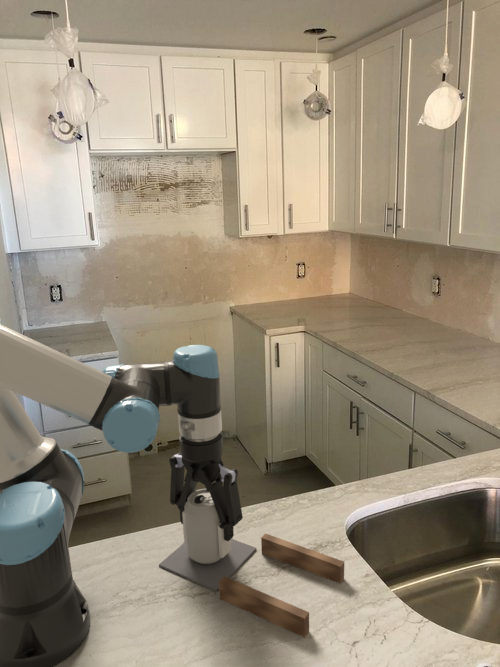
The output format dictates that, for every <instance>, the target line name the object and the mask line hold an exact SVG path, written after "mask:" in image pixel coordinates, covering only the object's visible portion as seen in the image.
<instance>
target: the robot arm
mask: <svg viewBox="0 0 500 667" xmlns="http://www.w3.org/2000/svg"><path fill="white" fill-rule="evenodd" d="M218 358H219V357H218V353H217V351H216V350H215V349H214V348H213V347H211V346H209V345H206V344H190V345H185V346H181V347H178V348H177V349H176V350H174V351H173V357H172V360H168V361H156V362H153V361H152V362H141V363H140V362H138V363H124V362H123V363H121V364H115V365H114V364H113V365H109V366H106V367H105V368H103V370H102V371H101V370H98V369H96V368H94V367H92V366H90V365H89V364H86V363H84V362H82V361H79V360H77V359H75V358H73V357H71V356H69V355H67V354H65V353H63V352H61V351H58V350H56V349H54V348H52V347H50V346H47V345H46V344H44V343H41V342H39V341H37V340H35V339H33V338H30V337H29V336H26V335H24V334H22V333H20V332H17V331H16V330H14V329H11V328H10V327H7V326H5V325H3V324H2V323H1V324H0V667H54V666H55V665H57V664H59V663H61V662H63V661H64V660H66V659H67V658H69V656H71V655H72V654H73V653H74V652H75V651H76V650H77V649H78V648H79V647H80V646H81V645H82V643H83V642H84V641H85V638H86V637H87V635H88V633H89V631H90V630H89V629H90V626H91V616H90V610H89V605H88V601H87V600H86V599H85V596H84V595H83V593H82V592H81V590H80V588H79V587H78V585H77V584H76V582H75V580H74V578H73V572H72V565H71V557H70V550H69V541H70V540H69V539H70V535H71V531H72V529H73V525H74V522H75V519H76V515H77V512H78V509H79V506H80V503H81V500H82V497H83V495H84V491H85V473H84V469H83V466H82V464H81V463H80V461H79V459H78V458H77V457H76V456H75V455H74V453H72V452H71V451H69V450H67V449H62V448H60V447H59V445H58V443H57V441H56V440H55V439H54V438H52V437H47V436H42V435H41V434H40V432H39V431H38V429H37V427H36V426H35V423H33V421H32V420H31V417H30V415H29V414H28V413H27V411H26V410H25V408H24V407H23V404H22V403H21V402H20V400H19V399H18V397H17V395H16V394H18V395H21V396H22V397H25V398H27V399H29V400H32V401H34V402H37V403H39V404H40V405H44V406H46V407H48V408H50V409H53V410H54V411H57V412H58V413H59V412H60V413H62V414H64V415H65V416H68V417H71V418H73V419H75V420H77V421H80V422H81V423H84V424H86V425H89V426H91V427H93V428H95V429H97V430H99V431H102V434H103V437H104V439H105V440H106V443H108V445H109V446H110V447H111V448H112V449H114V450H115V451H117V452H120V453H125V454H126V453H127V454H133V453H138V452H141V451H143V450H145V449H146V448H148V447H149V446H150V445H151V444H152V443H153V441H154V440H155V438H156V436H157V432H158V428H159V423H160V421H161V414H160V407H168V406H177V407H176V409H177V421H178V432H179V438H178V439H179V451H180V452H177V453H176V454H174V455H173V456H170V457H169V459H168V460H169V465H170V469H171V471H170V475H171V476H170V490H169V491H170V493H169V502H170V504H171V505H173V506H175V505H176V506H177V508H178V511H179V518H180V524H182V527H183V528H182V529H183V530H182V531H183V540H184V542H183V543H187V536H186V522H185V508H184V506H185V503H186V502H187V501H188V500H187V499H188V496H189V495H190V494H191V493H193V492H194V491H196V488H197V485H198V483H201V484H202V485H204V487H205V489H206V490H207V491H209V492H210V495H211V497H212V500H213V503H214V505H215V508H216V511H217V513H218V516H219V519H220V521H221V523H220V524H218V541H219V557H221V558H223V557H224V556H225V555H226V554H227V553H229V552H230V551H231V539H234V535H235V534H234V527H235V526H237V524H239V522H240V521H242V520H243V518H244V517H243V511H242V510H243V509H242V505H241V499H240V494H239V487H238V475H239V472H238V470H237V469H236V468H232V469H230V468H227V467H225V464H224V462H223V459H222V456H223V453H224V452H223V451H224V447H223V445H224V444H223V441H224V440H223V433H222V430H223V423H222V422H223V421H222V420H223V418H222V407H221V382H220V377H221V376H220V375H221V374H220V367H219V359H218ZM15 393H16V394H15ZM185 470H186V473H185Z"/></svg>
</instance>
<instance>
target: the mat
mask: <svg viewBox="0 0 500 667" xmlns="http://www.w3.org/2000/svg"><path fill="white" fill-rule="evenodd" d="M256 551H257V547H255V546H252V545H250V544H247V543H244V542H241V541H239V540H236V539H234V538H232V539H231V551H230V552H229V553H227V554H226V555H225V556H224V557H223V558H221V559H220V560H219V561H217V562H215V563H211V564H202V563H198V562H196V561H195V560H193V559H191V558H190V556H189V555H188V550H187V543H184V542H183V543H182V544H181V545H180V546H179V547H176V549H175V550H174V551H173V552H171V553H170V554H169V555H168V556H167V557H166V558H165V559H164V560H162V561H161V562H160V563H159V564H158V567H159V568H162V569H165V570H167V571H169V572H172V573H173V574H175V575H177V576H180V577H182V578H184V579H186V580H189V581H191V582H194V583H196V584H198V585H200V586H202V587H204V588H206V589H208V590H211V591H213V592H215V593H217V592H218V591H219V581H220V580H221V579H222V577H223V576H225V577H228V578H230V579H231V577H232V576H233V575H234V574H235V573H236V572H237V571H238V570H239V569H240V567H241V566H243V564H245V562H247V560H248V559H249V558H250V557H251V556H252V555H253V554H254V553H255V552H256Z"/></svg>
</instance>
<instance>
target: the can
mask: <svg viewBox="0 0 500 667" xmlns="http://www.w3.org/2000/svg"><path fill="white" fill-rule="evenodd" d="M187 500H188V501H187V502H186V503H185V506H184V508H185V522H186V536H187V550H188V555H189V556H190V558H191V559H193V560H195V561H196V562H198V563H202V564H211V563H215V562H217V561H219V560H220V559H221V557H219V541H218V524H220V523H221V521H220V519H219V516H218V513H217V511H216V508H215V505H214V503H213V500H212V497H211V495H210V492H209V491H207V490H206V488H200V489H196V490H195V491H194V492H193V493H191V494H190V495H189V496H188V499H187Z"/></svg>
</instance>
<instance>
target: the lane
mask: <svg viewBox="0 0 500 667" xmlns="http://www.w3.org/2000/svg"><path fill="white" fill-rule="evenodd" d="M260 539H261V540H260V541H261V542H260V543H261V554H262V555H264V556H266V557H269V558H272V559H274V560H277V561H279V562H282V563H285V564H288V565H290V566H293V567H295V568H298V569H300V570H303V571H306V572H308V573H310V574H313V575H316V576H319V577H321V578H323V579H327V580H329V581H332V582H333V583H337V584H339V585H341V584H342V583H343V582H344V580H345V561H344V560H340V559H338V558H335V557H332V556H329V555H327V554H323V553H322V552H321V553H320V552H318V551H315V550H313V549H311V548H308V547H305V546H302V545H299V544H297V543H293V542H291V541H288V540H286V539H282V538H279V537H276V536H274V535H271V534H268V533H264V534H263V535H262V536H261V538H260ZM218 591H219V600H221V601H224V602H226V603H228V604H230V605H232V606H235V607H237V608H239V609H241V610H243V611H246V612H247V613H250V614H252V615H254V616H256V617H258V618H261V619H263V620H265V621H268V622H269V623H271V624H274V625H276V626H278V627H281V628H283V629H285V630H287V631H289V632H291V633H294V634H296V635H297V636H300V637H303V638H306V636H308V634H309V632H310V612H309V611H307V610H305V609H302V608H301V607H297V606H296V605H294V604H291V603H288V602H286V601H284V600H281V599H279V598H277V597H274V596H272V595H270V594H267V593H265V592H262V591H261V590H258V589H257V588H256V589H255V588H253V587H251V586H248V585H246V584H244V583H242V582H240V581H237V580H235V579H233V578H231V577H230V578H228V577H225V576H223V577H222V579H221V580H220V581H219V590H218Z"/></svg>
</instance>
